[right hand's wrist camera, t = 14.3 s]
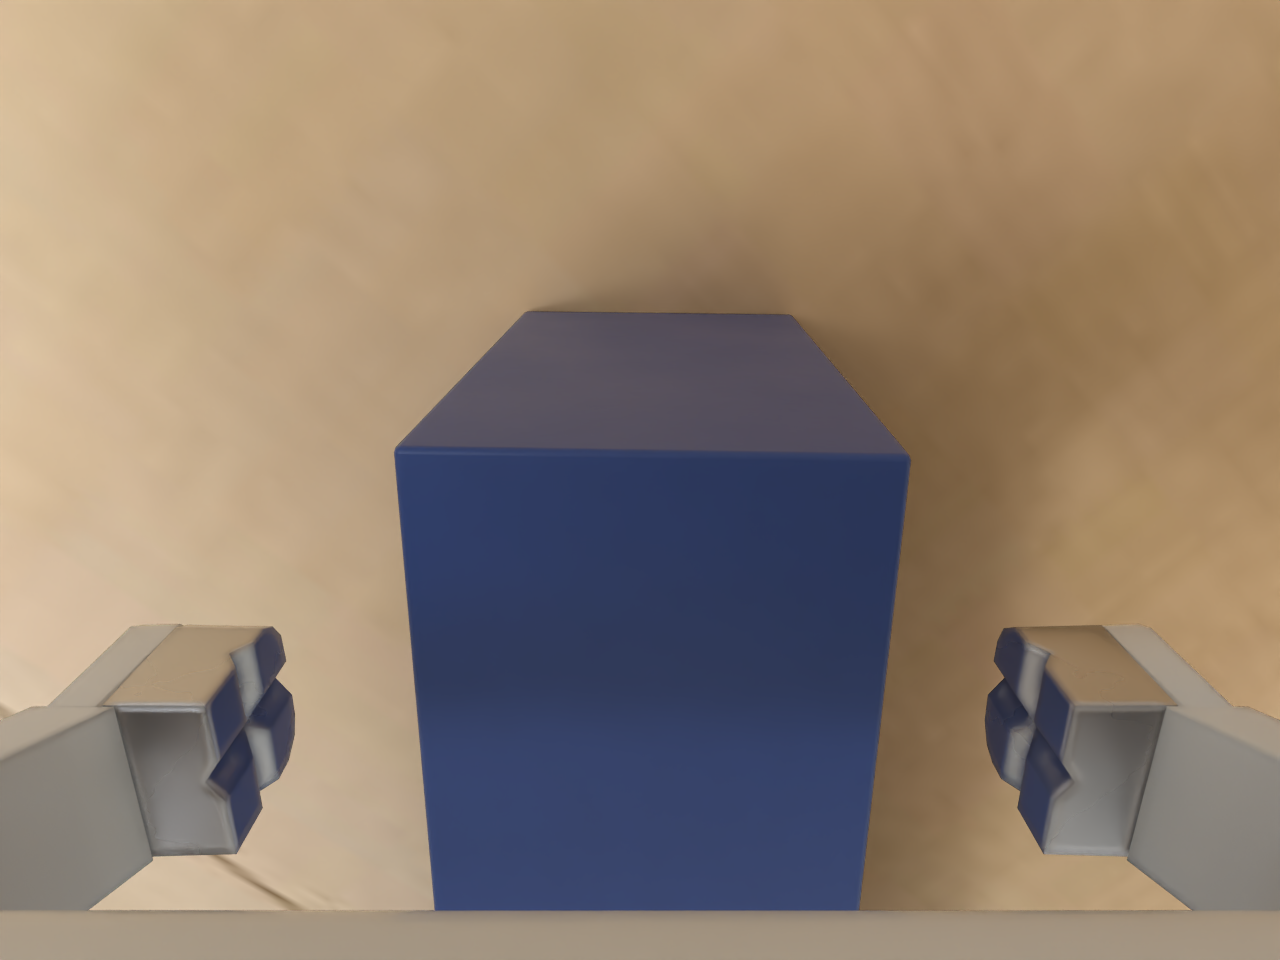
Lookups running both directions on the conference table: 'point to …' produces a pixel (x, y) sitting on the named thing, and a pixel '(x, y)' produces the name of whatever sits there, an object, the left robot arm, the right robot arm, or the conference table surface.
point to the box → (650, 617)
